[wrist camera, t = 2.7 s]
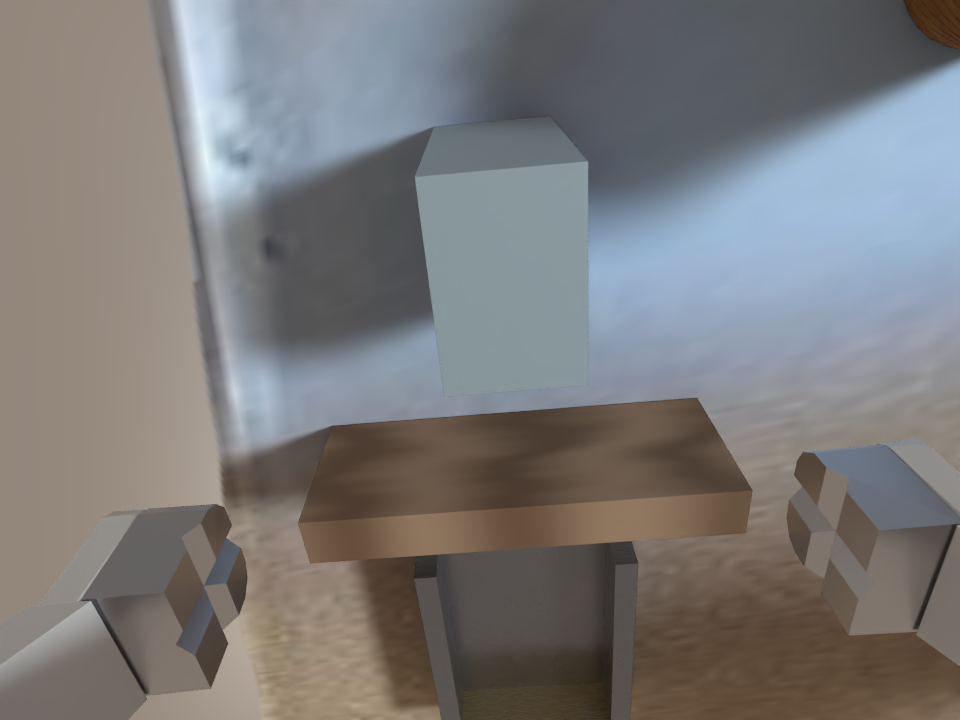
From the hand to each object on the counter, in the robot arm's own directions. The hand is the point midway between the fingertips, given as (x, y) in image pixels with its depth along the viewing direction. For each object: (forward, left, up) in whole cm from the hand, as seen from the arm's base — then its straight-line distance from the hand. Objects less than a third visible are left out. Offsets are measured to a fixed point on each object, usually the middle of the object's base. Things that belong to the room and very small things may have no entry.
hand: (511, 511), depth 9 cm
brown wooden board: (0, +10, -16) cm, 19 cm away
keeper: (0, +22, -16) cm, 27 cm away
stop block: (0, 0, -16) cm, 16 cm away
